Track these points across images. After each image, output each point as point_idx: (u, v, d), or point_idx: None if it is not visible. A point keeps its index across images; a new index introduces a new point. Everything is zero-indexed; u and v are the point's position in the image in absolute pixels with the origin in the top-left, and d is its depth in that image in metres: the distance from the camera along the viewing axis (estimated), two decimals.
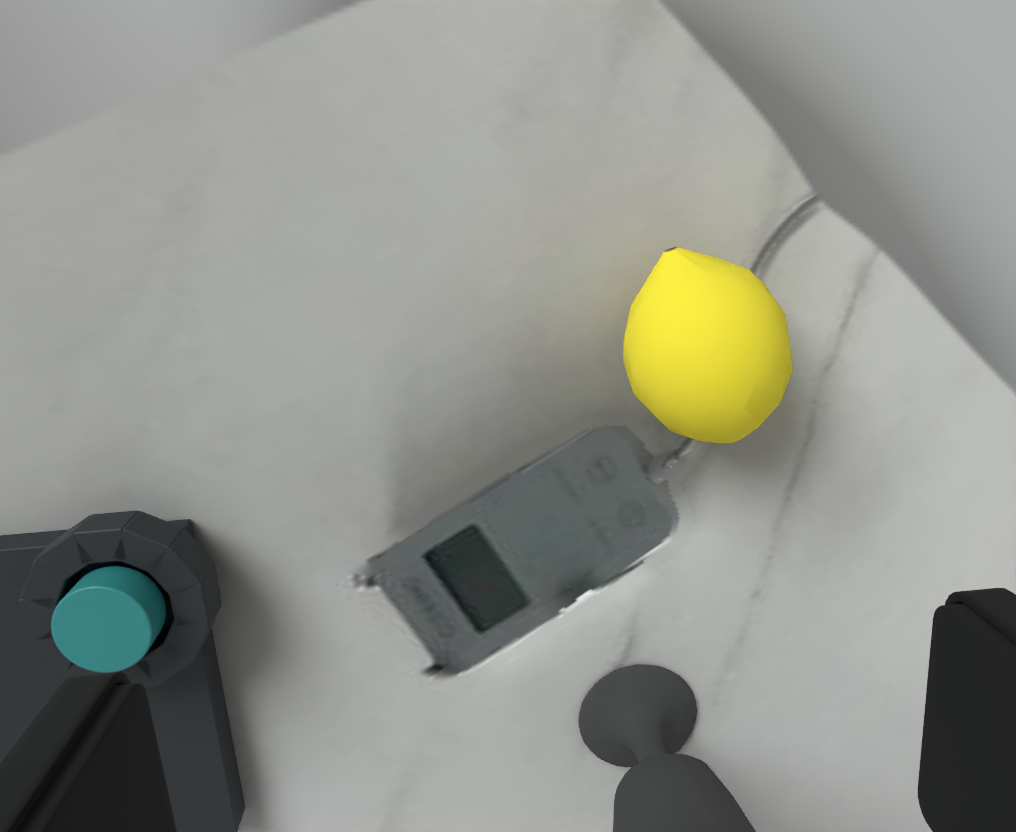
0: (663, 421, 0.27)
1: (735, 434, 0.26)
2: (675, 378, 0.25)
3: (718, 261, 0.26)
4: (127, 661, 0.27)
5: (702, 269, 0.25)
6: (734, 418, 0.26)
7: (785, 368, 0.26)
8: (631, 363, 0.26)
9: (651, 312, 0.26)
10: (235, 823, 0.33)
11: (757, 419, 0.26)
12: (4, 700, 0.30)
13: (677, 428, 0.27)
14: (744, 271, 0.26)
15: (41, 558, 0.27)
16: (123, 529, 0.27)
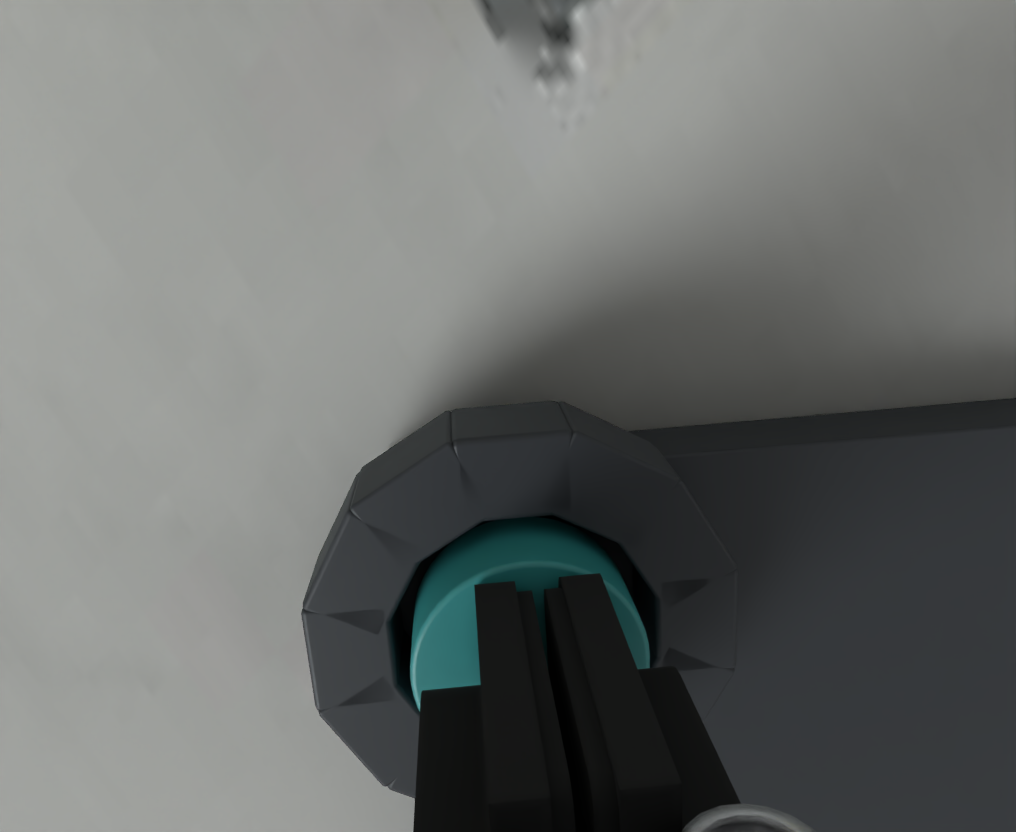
0: None
1: None
2: None
3: None
4: (621, 622, 0.11)
5: None
6: None
7: None
8: None
9: None
10: None
11: None
12: None
13: None
14: None
15: (382, 775, 0.12)
16: (305, 607, 0.11)
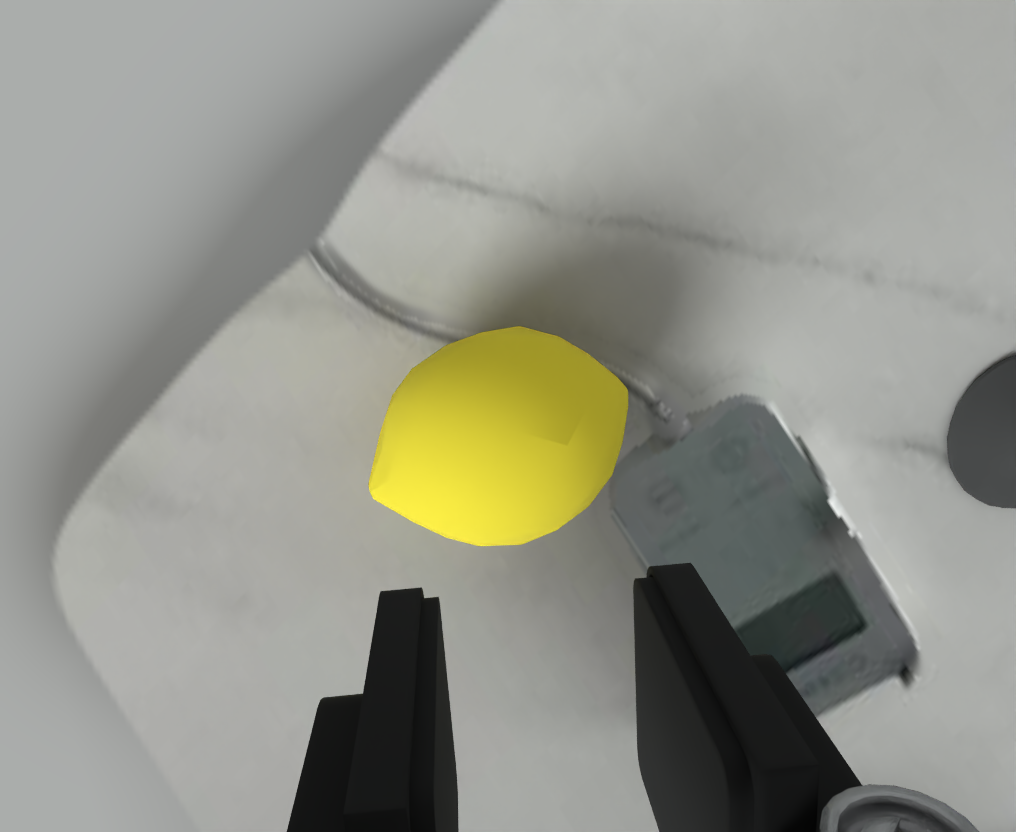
0: (589, 503, 0.20)
1: (608, 426, 0.19)
2: (525, 527, 0.19)
3: (382, 438, 0.20)
4: None
5: (389, 478, 0.20)
6: (582, 448, 0.19)
7: (515, 376, 0.18)
8: None
9: (444, 534, 0.20)
10: None
11: (587, 409, 0.19)
12: None
13: (599, 490, 0.20)
14: (391, 415, 0.20)
15: None
16: None
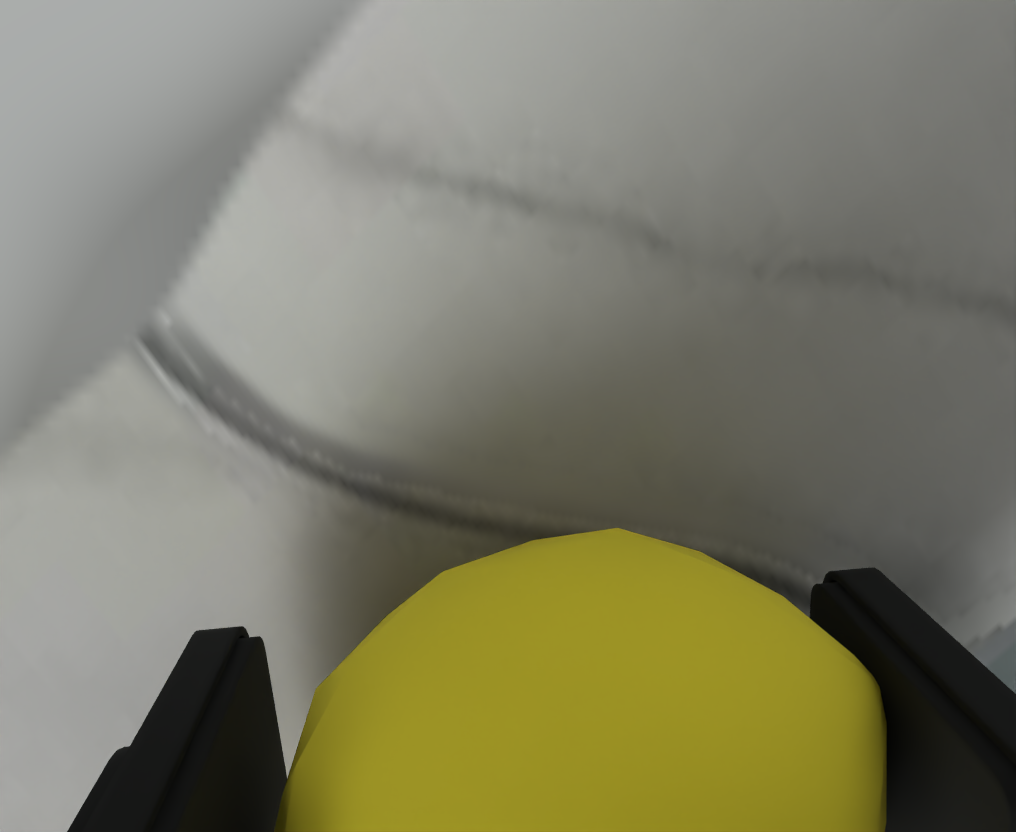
0: None
1: None
2: None
3: (286, 816, 0.08)
4: None
5: None
6: None
7: (641, 743, 0.06)
8: None
9: None
10: None
11: (836, 822, 0.07)
12: None
13: None
14: (300, 790, 0.08)
15: None
16: None
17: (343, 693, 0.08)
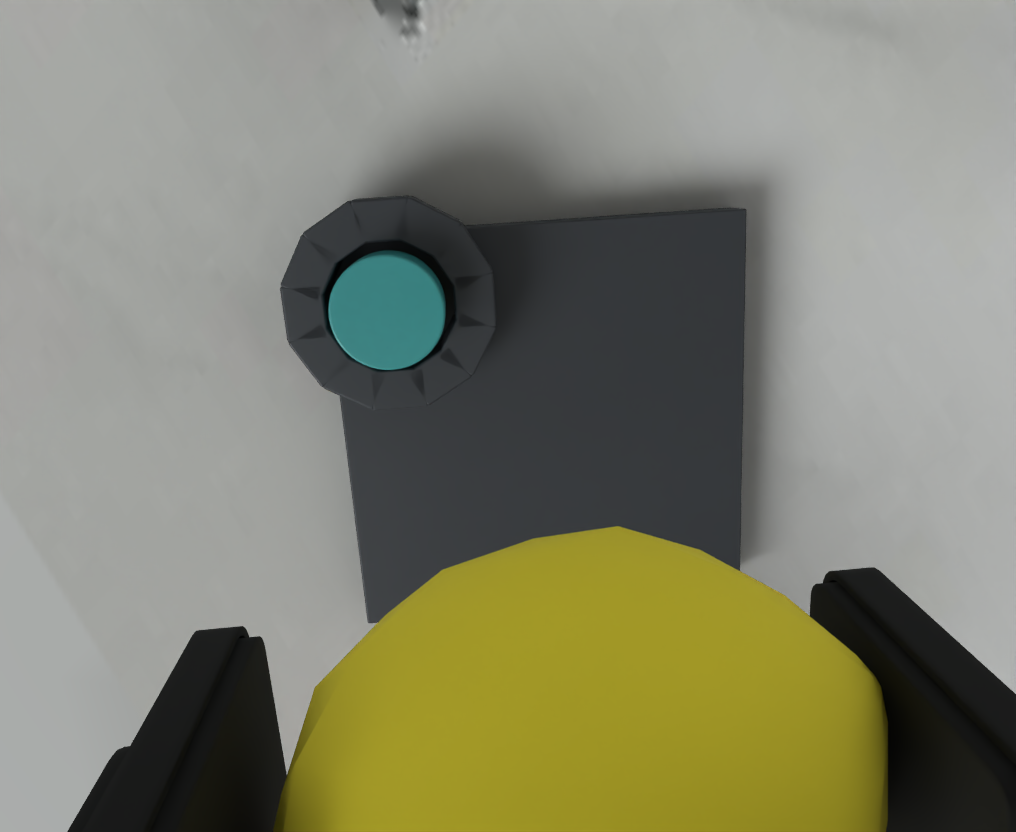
0: None
1: None
2: None
3: (285, 815, 0.08)
4: (429, 288, 0.22)
5: None
6: None
7: (642, 742, 0.06)
8: None
9: None
10: (732, 209, 0.25)
11: (838, 821, 0.07)
12: (532, 455, 0.27)
13: None
14: (299, 789, 0.08)
15: (320, 379, 0.24)
16: (282, 285, 0.23)
17: (342, 692, 0.08)
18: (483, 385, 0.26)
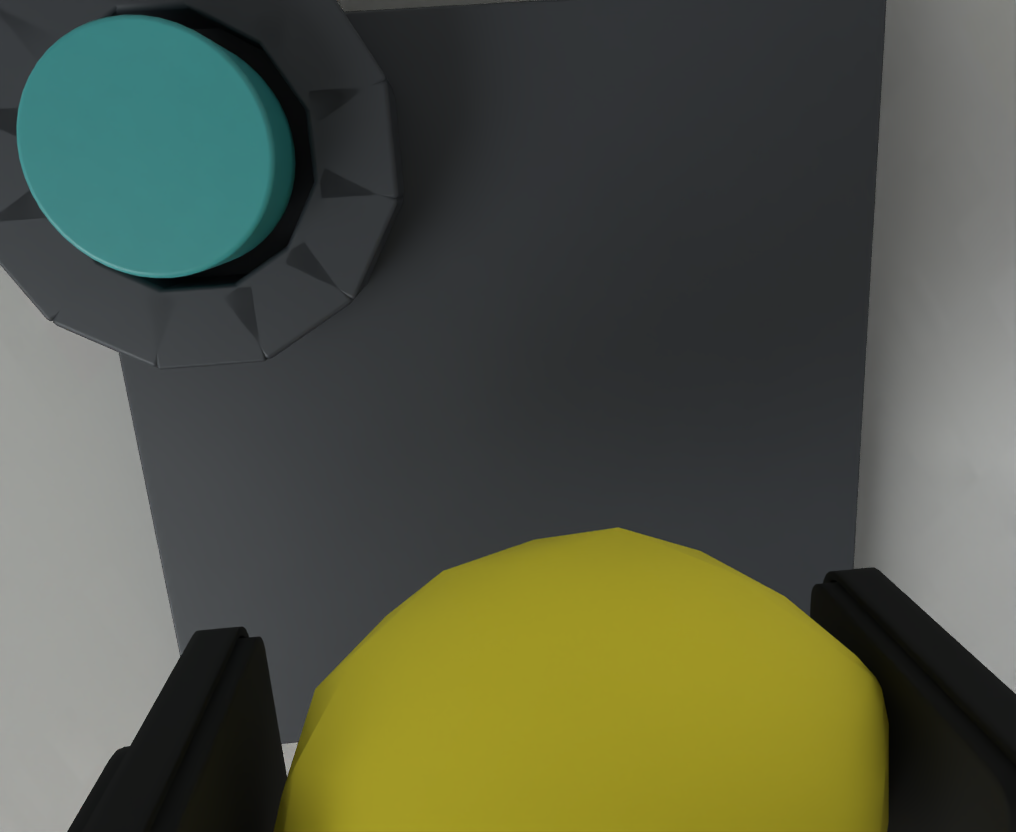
0: None
1: None
2: None
3: (285, 816, 0.08)
4: (236, 94, 0.10)
5: None
6: None
7: (643, 743, 0.06)
8: None
9: None
10: None
11: (839, 824, 0.07)
12: (483, 457, 0.15)
13: None
14: (300, 790, 0.08)
15: (44, 306, 0.12)
16: None
17: (343, 693, 0.08)
18: (388, 326, 0.14)
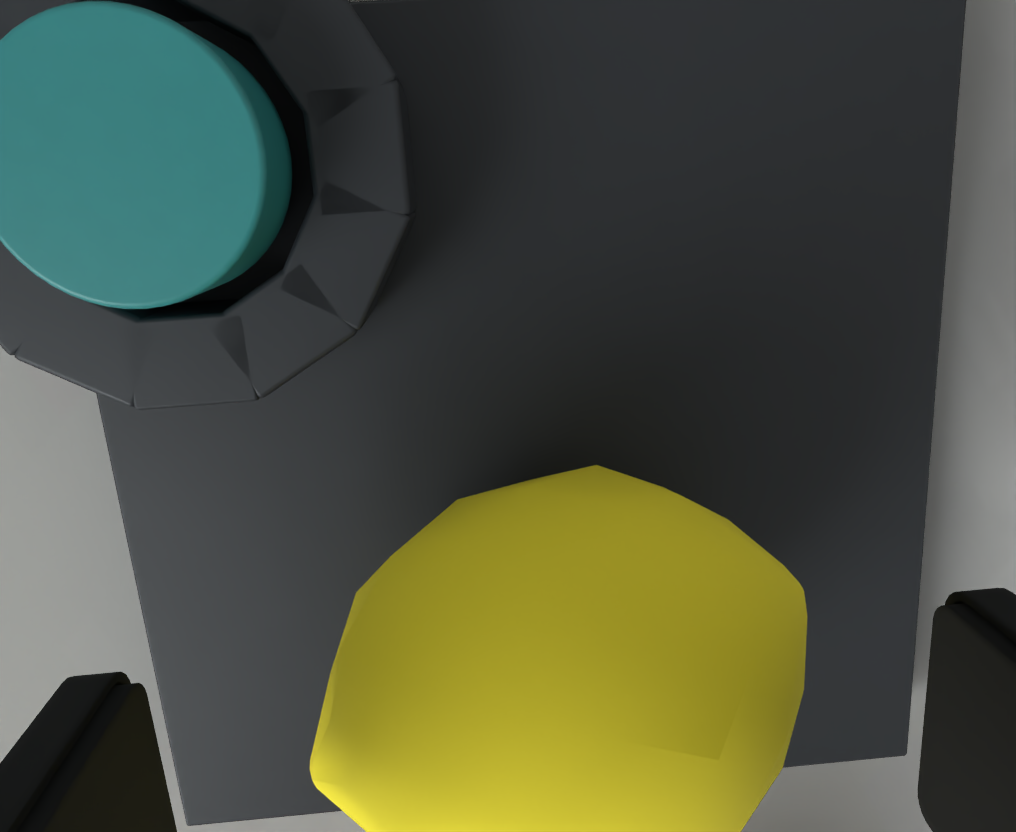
0: None
1: (789, 690, 0.09)
2: None
3: (334, 686, 0.10)
4: (220, 94, 0.09)
5: (342, 780, 0.10)
6: (745, 756, 0.09)
7: (606, 606, 0.09)
8: None
9: None
10: None
11: (754, 671, 0.09)
12: None
13: None
14: (348, 658, 0.10)
15: (4, 338, 0.10)
16: None
17: (380, 586, 0.10)
18: (398, 357, 0.12)
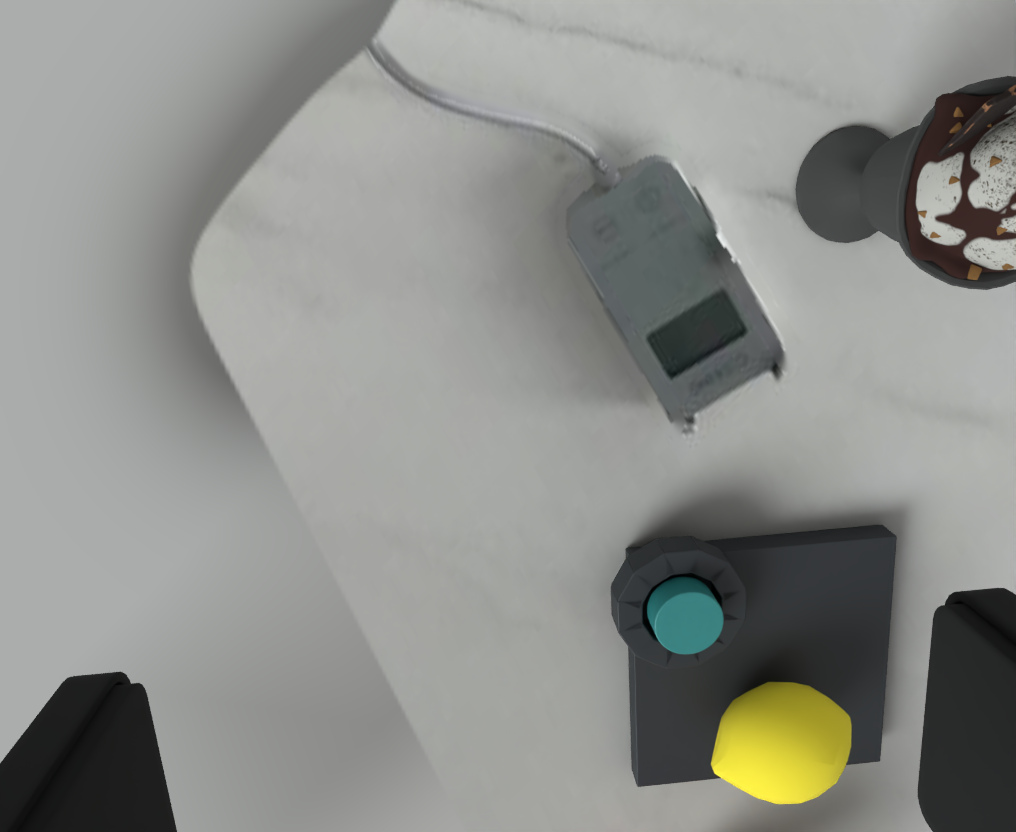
0: None
1: (848, 747, 0.38)
2: (806, 800, 0.38)
3: (724, 745, 0.39)
4: (716, 609, 0.37)
5: (731, 770, 0.38)
6: (839, 764, 0.37)
7: (807, 729, 0.37)
8: None
9: None
10: (887, 536, 0.40)
11: (840, 743, 0.37)
12: (752, 682, 0.41)
13: None
14: (734, 739, 0.38)
15: (635, 652, 0.39)
16: (618, 600, 0.38)
17: (740, 719, 0.38)
18: None
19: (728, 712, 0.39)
